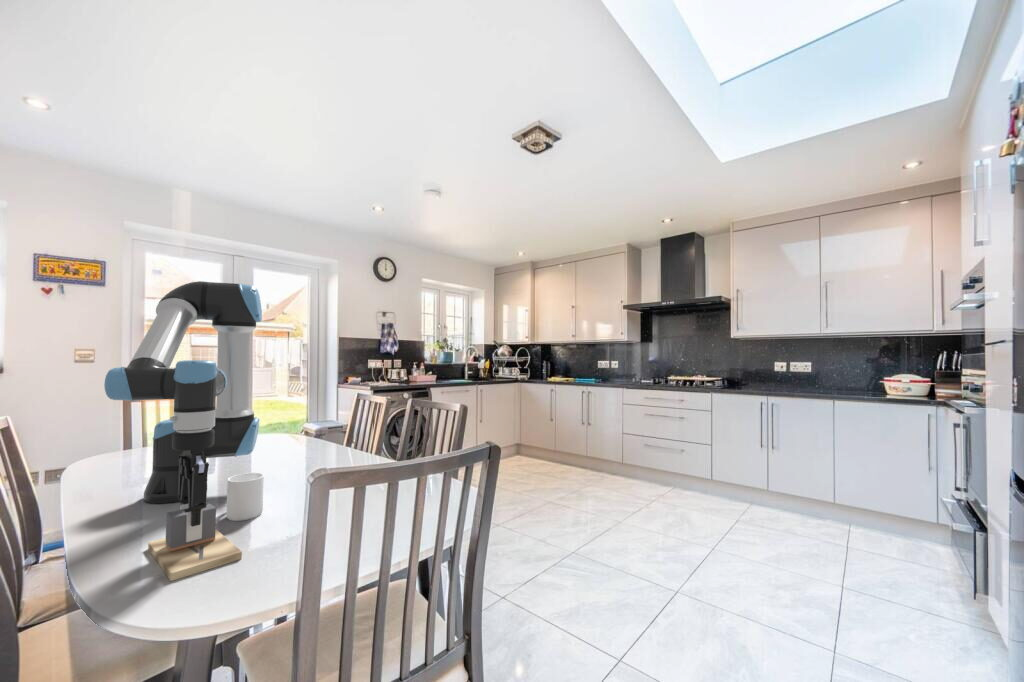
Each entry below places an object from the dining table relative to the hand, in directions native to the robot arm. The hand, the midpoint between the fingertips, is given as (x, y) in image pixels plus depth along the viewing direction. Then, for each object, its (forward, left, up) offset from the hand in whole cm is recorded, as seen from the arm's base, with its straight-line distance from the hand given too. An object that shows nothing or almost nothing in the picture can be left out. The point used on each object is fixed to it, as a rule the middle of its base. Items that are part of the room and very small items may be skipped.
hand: (190, 536), depth 95 cm
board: (+2, 0, -3) cm, 4 cm away
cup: (-16, +15, -3) cm, 22 cm away
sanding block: (0, 0, -1) cm, 1 cm away
